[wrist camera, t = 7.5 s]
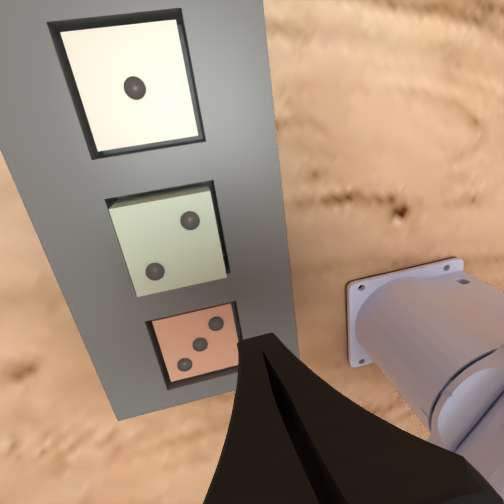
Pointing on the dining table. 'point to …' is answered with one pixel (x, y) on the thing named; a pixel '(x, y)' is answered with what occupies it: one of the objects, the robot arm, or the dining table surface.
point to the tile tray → (149, 184)
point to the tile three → (198, 341)
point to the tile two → (169, 239)
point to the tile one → (132, 83)
